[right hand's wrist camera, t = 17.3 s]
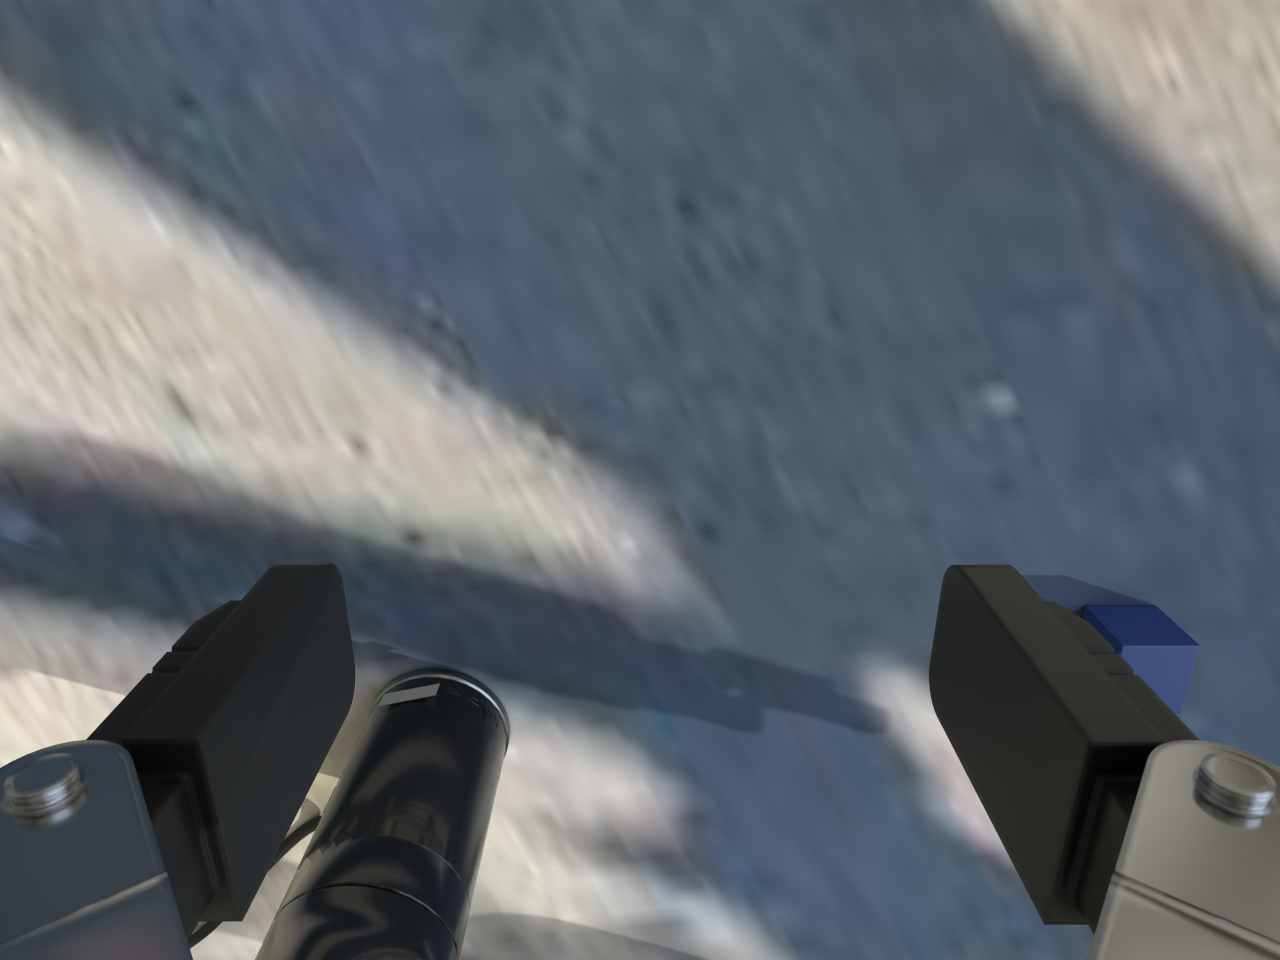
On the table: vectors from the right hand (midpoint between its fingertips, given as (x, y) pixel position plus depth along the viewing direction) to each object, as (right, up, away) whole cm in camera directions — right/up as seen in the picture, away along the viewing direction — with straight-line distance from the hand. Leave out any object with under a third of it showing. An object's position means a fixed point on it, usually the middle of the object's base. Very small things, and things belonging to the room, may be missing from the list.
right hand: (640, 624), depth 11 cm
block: (+30, -8, +43) cm, 54 cm away
